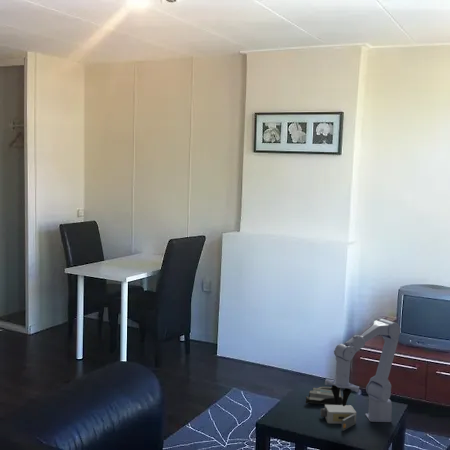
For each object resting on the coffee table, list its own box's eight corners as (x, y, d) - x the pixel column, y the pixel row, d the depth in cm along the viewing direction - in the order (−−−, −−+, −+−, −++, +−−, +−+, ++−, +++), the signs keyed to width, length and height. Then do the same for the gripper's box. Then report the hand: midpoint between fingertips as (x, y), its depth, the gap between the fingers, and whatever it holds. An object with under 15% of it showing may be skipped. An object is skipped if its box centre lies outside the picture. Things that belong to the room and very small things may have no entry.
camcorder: (349, 407, 278) (350, 396, 278) (306, 407, 276) (306, 396, 275) (338, 394, 294) (339, 384, 294) (297, 394, 292) (298, 383, 291)
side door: (353, 423, 259) (354, 413, 259) (356, 424, 258) (357, 414, 258) (340, 430, 252) (341, 419, 251) (344, 431, 251) (345, 421, 250)
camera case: (350, 416, 268) (351, 405, 267) (355, 424, 259) (356, 412, 259) (319, 415, 267) (320, 404, 266) (323, 423, 258) (324, 412, 258)
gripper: (322, 371, 254) (320, 403, 255) (356, 379, 246) (353, 411, 247) (329, 367, 260) (327, 398, 261) (361, 374, 252) (359, 406, 253)
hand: (340, 404), depth 254 cm, fingers open, 3 cm apart
